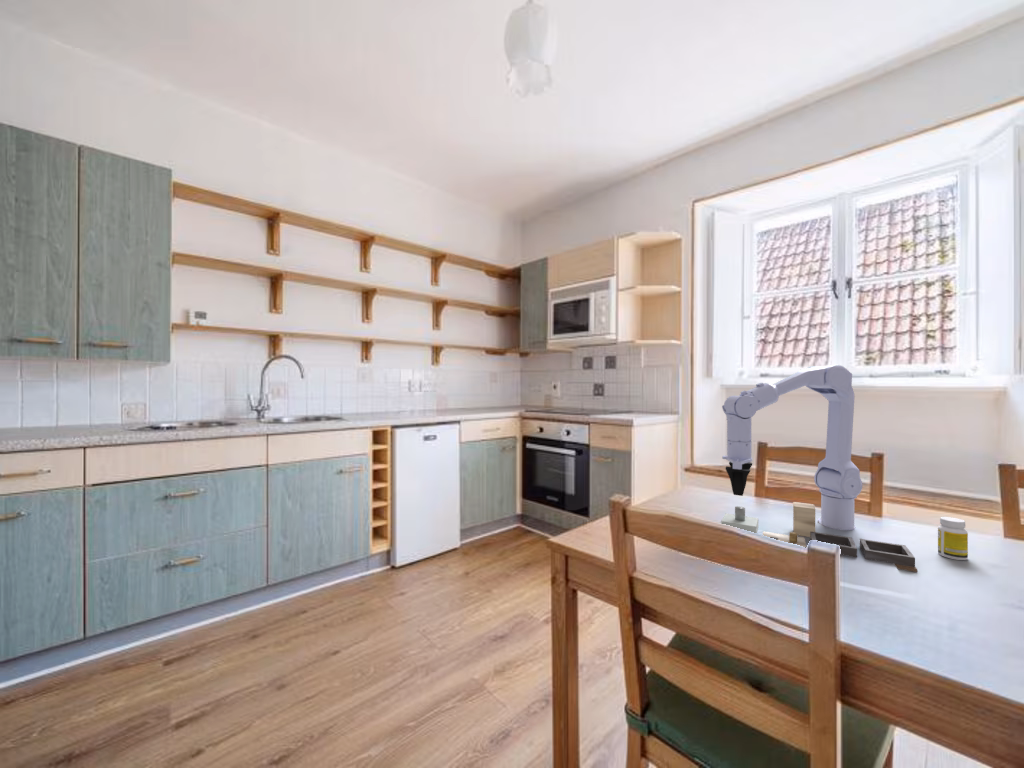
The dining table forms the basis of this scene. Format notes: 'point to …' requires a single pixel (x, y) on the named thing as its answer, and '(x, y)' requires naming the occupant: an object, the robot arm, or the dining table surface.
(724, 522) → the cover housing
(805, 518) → the maple peg
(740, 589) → the dining table surface
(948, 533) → the supplement bottle
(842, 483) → the robot arm
